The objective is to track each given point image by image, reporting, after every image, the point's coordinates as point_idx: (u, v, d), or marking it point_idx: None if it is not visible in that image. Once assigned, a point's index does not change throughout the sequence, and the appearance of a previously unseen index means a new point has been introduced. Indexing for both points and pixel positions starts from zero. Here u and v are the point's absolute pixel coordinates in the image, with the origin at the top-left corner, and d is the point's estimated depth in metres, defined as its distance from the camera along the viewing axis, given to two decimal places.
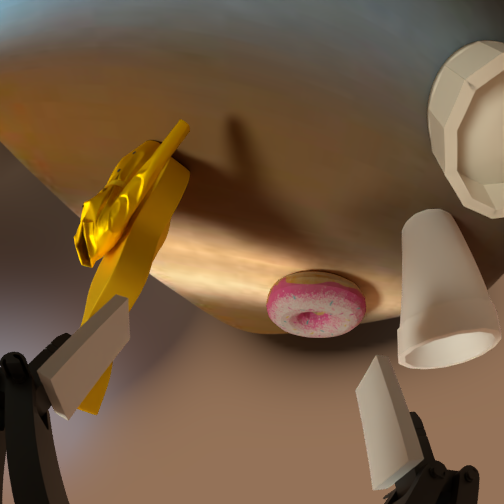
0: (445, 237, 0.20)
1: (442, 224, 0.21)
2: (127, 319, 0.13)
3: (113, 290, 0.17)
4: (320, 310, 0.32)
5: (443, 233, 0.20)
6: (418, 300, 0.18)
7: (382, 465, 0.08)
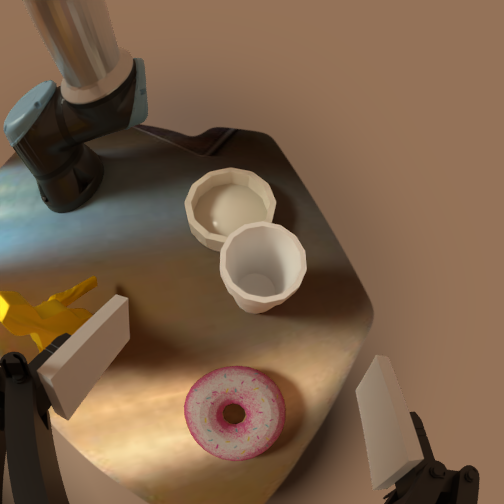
0: None
1: None
2: (127, 319, 0.13)
3: (49, 304, 0.26)
4: (222, 388, 0.32)
5: None
6: None
7: (382, 465, 0.08)
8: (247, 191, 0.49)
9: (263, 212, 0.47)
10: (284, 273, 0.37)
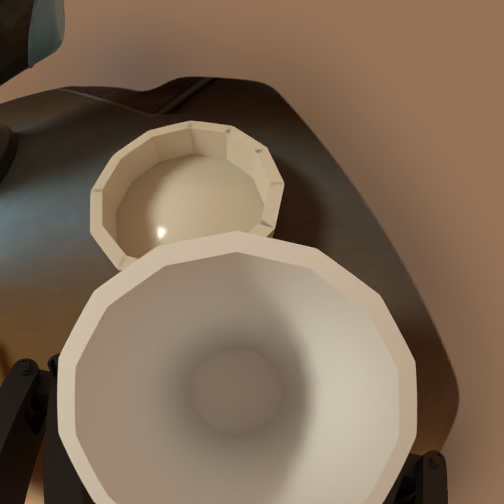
0: None
1: None
2: None
3: None
4: None
5: None
6: None
7: None
8: (225, 167, 0.24)
9: (256, 208, 0.22)
10: (310, 378, 0.12)
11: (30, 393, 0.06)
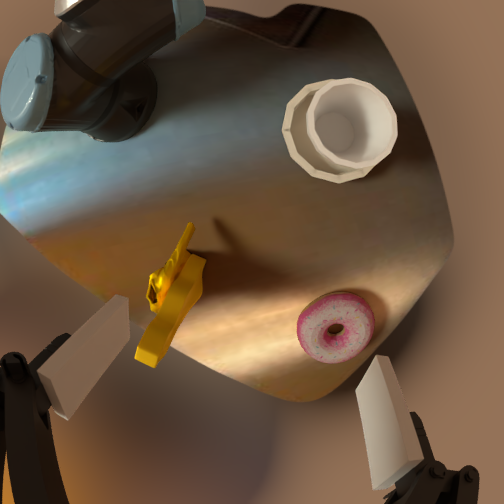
0: None
1: None
2: (127, 319, 0.13)
3: (170, 298, 0.33)
4: (331, 318, 0.41)
5: None
6: None
7: (382, 465, 0.08)
8: None
9: None
10: (368, 123, 0.30)
11: None
